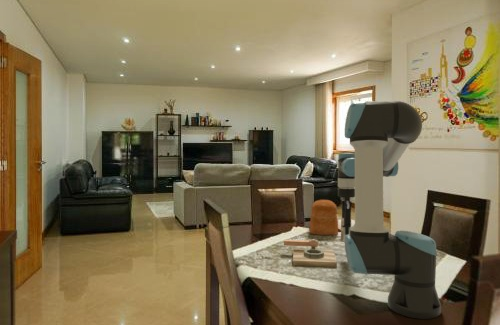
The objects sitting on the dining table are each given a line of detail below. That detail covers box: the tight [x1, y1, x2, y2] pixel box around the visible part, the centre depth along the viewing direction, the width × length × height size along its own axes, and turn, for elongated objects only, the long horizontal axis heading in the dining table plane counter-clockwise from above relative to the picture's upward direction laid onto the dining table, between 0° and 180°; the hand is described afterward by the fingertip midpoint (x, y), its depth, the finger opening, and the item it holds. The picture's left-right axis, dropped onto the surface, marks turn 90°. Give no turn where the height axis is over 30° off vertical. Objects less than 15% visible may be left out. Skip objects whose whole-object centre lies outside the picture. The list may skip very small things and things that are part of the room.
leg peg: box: [340, 217, 352, 243], centre depth 168 cm, size 4×4×10 cm
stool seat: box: [292, 246, 338, 268], centre depth 166 cm, size 18×18×4 cm
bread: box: [309, 199, 339, 236], centre depth 221 cm, size 16×26×17 cm, turn 170°
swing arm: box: [283, 238, 319, 248], centre depth 175 cm, size 16×4×3 cm, turn 84°
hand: (345, 240), depth 168 cm, fingers closed on leg peg, 4 cm apart
